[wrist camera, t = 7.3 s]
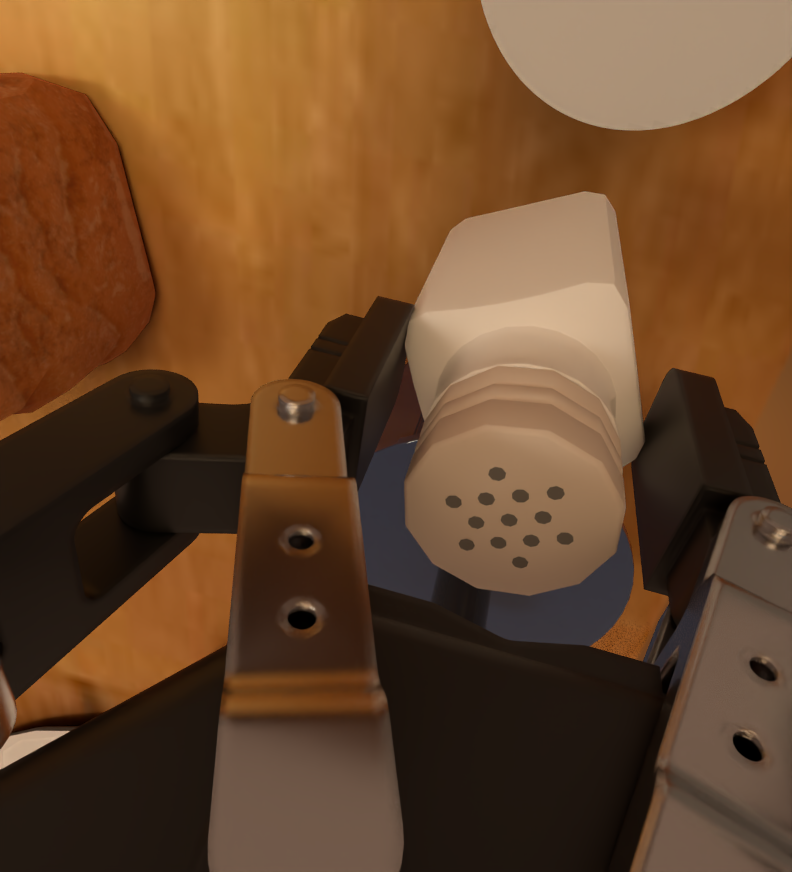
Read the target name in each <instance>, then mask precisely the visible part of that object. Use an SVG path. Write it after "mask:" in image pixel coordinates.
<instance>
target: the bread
mask: <svg viewBox="0 0 792 872" xmlns="http://www.w3.org/2000/svg"><path fill="white" fill-rule="evenodd" d="M155 294H156V293H155V289H154V284H153V280H152V276H151V272H150V268H149V264H148V260H147V256H146V252H145V248H144V245H143V241H142V237H141V233H140V229H139V225H138V221H137V217H136V214H135V210H134V206H133V202H132V198H131V195H130V191H129V187H128V183H127V179H126V176H125V172H124V168H123V164H122V161H121V157H120V153H119V149H118V145H117V143H116V142H115V140H114V138H113V137H112V135H111V134H110V132H109V130H108V129H107V127H106V126H105V124H104V123H103V121H102V119H101V118H100V116H99V115H98V113H97V111H96V110H95V108H94V107H93V105H92V103H91V102H90V100H89V99H88V97H87V96H86V95H85V94H82V93H80V92H77V91H74V90H71V89H68V88H65V87H62V86H59V85H56V84H53V83H50V82H47V81H44V80H41V79H38V78H36V77H33V76H30V75H27V74H24V73H0V421H1V420H3V419H5V418H6V417H8V416H10V415H12V414H21V413H30V412H34V411H35V410H37V409H39V408H40V407H42V406H44V405H45V404H47V403H49V402H50V401H52V400H54V399H55V398H57V397H59V396H60V395H62V394H63V393H65V392H67V391H68V390H70V389H71V388H72V387H73V386H74V385H76V384H77V383H78V382H79V381H80V380H82V379H83V378H84V377H85V376H86V375H87V374H89V373H90V372H91V371H92V370H93V369H94V368H96V367H97V366H99V365H102V364H106V363H108V362H109V361H111V360H112V359H114V358H116V357H117V356H119V355H121V354H122V353H124V352H125V351H126V350H127V349H128V348H129V347H130V345H131V344H132V343H133V342H134V340H135V339H136V338H137V336H138V335H139V334H140V333H141V331H142V330H143V329H144V328H145V326H146V325H147V324H148V323H149V321H150V317H151V312H152V308H153V303H154V299H155Z"/></svg>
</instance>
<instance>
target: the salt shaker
mask: <svg viewBox="0 0 792 872" xmlns="http://www.w3.org/2000/svg"><path fill="white" fill-rule="evenodd" d="M405 349H406V354H407V358H408V362H409V367H410V371H411V375H412V380H413V384H414V388H415V391H416V395H417V398H418V401H419V405H420V408H421V412H422V415H423V418H424V424H423V427H422V430H421V433H420V438H419V439H418V442H417V445H416V448H415V453H414V454H413V457H412V460H411V463H410V465H409V468H408V471H407V474H406V477H405V480H404V498H405V525H406V527H407V528H408V530H409V531H410V533H411V534H412V535H413V537H414V538H415V540H416V541H417V542H418V544H419V545H420V547H421V548H422V549H423V551H424V552H425V554H426V555H427V556H428V558H429V559H430V561H431V562H432V563H433V564H434V565H436V566H438V567H440V568H441V569H443V570H445V571H447V572H449V573H450V574H452V575H454V576H456V577H458V578H459V579H461V580H463V581H465V582H467V583H468V584H470V585H472V586H474V587H476V588H479V589H486V590H493V591H500V592H507V593H514V594H521V595H528V596H530V595H534V594H538V593H543V592H547V591H551V590H556V589H560V588H564V587H568V586H573V585H577V584H580V583H581V582H582V581H583V580H584V579H586V578H587V577H588V576H589V575H590V574H591V573H593V572H594V571H595V570H596V569H597V568H598V567H600V566H601V565H602V564H603V563H604V562H606V561H607V560H608V559H609V558H610V557H611V556H613V555H614V554H615V553H616V551H617V547H618V542H619V537H620V533H621V528H622V524H623V519H624V515H625V510H626V501H625V490H624V479H623V476H622V474H623V467H624V466H625V465H627V464H629V463H630V462H632V461H633V460H635V459H636V458H637V456H638V454H639V452H640V450H641V449H642V447H643V445H644V443H645V435H644V425H643V416H642V407H641V399H640V390H639V381H638V372H637V364H636V355H635V347H634V338H633V330H632V322H631V313H630V305H629V298H628V291H627V285H626V278H625V272H624V265H623V258H622V252H621V245H620V239H619V232H618V225H617V219H616V212H615V210H614V208H613V207H612V205H611V203H610V202H609V200H608V199H607V197H606V195H604V194H598V193H592V192H586V191H584V192H580V193H575V194H571V195H567V196H562V197H558V198H554V199H549V200H545V201H541V202H536V203H532V204H528V205H523V206H519V207H515V208H510V209H506V210H502V211H497V212H493V213H489V214H484V215H480V216H476V217H471V218H467V219H465V220H463V221H462V222H461V223H459V224H458V225H456V226H455V227H454V228H452V229H451V230H450V232H449V234H448V236H447V239H446V241H445V243H444V245H443V247H442V249H441V251H440V253H439V255H438V257H437V259H436V261H435V263H434V266H433V268H432V270H431V272H430V274H429V276H428V278H427V280H426V282H425V284H424V286H423V288H422V291H421V293H420V295H419V297H418V299H417V301H416V303H415V308H414V310H413V313H412V315H411V317H410V320H409V324H408V329H407V334H406V339H405Z"/></svg>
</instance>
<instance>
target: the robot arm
mask: <svg viewBox="0 0 792 872" xmlns="http://www.w3.org/2000/svg"><path fill="white" fill-rule="evenodd" d="M414 308H415V305H413V304H409V303H405V302H401V301H397V300H392V299H388V298H384V297H380V296H378V297H377V298H376V300H375V301H374V303H373V304H372V306H371V308H370V309H369V311H368V313H367V314H366V316H365V318H361V317H357V316H353V315H349V314H345V315H343V316H341V317H338V318H336V319H334V320H332V321H330V322H328V323H327V325H326V326H325V327H324V329H323V330H322V332H321V333H320V334H319V337H318V338H317V339H316V340H315V342H314V343H313V344H312V346H311V349H309V350H308V351H307V353H306V354H305V356H304V357H303V359H302V360H301V361H300V363H299V364H298V366H297V367H296V369H295V370H294V371H293V373H292V374H291V376H290V377H289V378H288V379H283V380H277V381H273V382H270V383H267V384H265V385H263V386H261V387H260V388H258V389H257V390H256V391H255V392H254V394H253V396H252V398H251V403H249V404H239V405H229V404H209V403H199V401H198V390H197V388H196V386H195V385H194V383H193V382H192V381H190V380H189V379H188V378H186V377H184V376H182V375H180V374H177V373H174V372H170V371H164V370H139V371H133V372H129V373H126V374H123V375H120V376H118V377H116V378H114V379H112V380H110V381H108V382H107V383H105V384H103V385H101V386H99V387H97V388H96V389H94V390H92V391H90V392H88V393H86V394H85V395H83V396H81V397H79V398H77V399H75V400H74V401H72V402H70V403H68V404H66V405H65V406H63V407H61V408H59V409H57V410H55V411H54V412H52V413H50V414H48V415H46V416H44V417H43V418H41V419H39V420H37V421H35V422H33V423H32V424H30V425H28V426H26V427H24V428H22V429H21V430H19V431H17V432H15V433H13V434H11V435H10V436H8V437H6V438H4V439H2V440H0V749H1V748H2V747H3V746H4V744H5V743H6V741H7V739H8V738H9V736H10V734H11V732H12V730H13V727H14V724H15V720H16V712H17V708H16V701H15V700H16V699H17V698H18V697H19V696H20V695H21V694H23V693H24V692H25V691H26V690H27V689H28V688H29V687H30V686H32V685H33V684H34V683H35V682H36V681H37V680H38V679H39V678H41V677H42V676H43V675H44V674H45V673H46V672H47V671H48V670H49V669H51V668H52V667H53V666H54V665H55V664H56V663H57V662H58V661H60V660H61V659H62V658H63V657H64V656H65V655H66V654H67V653H69V652H70V651H71V650H72V649H73V648H74V647H75V646H76V645H78V644H79V643H80V642H81V641H82V640H83V639H84V638H85V637H87V636H88V635H89V634H90V633H91V632H92V631H93V630H94V629H95V628H97V627H98V626H99V625H100V624H101V623H102V622H103V621H104V620H106V619H107V618H108V617H109V616H110V615H111V614H112V613H113V612H115V611H116V610H117V609H118V608H119V607H120V606H121V605H122V604H124V603H125V602H126V601H127V600H128V599H129V598H130V597H131V596H133V595H134V594H135V593H136V592H137V591H138V590H139V589H140V588H141V587H143V586H144V585H145V584H146V583H147V582H148V581H149V580H150V579H152V578H153V577H154V576H155V575H156V574H157V573H158V572H159V571H161V570H162V569H163V568H164V567H165V566H166V565H167V564H168V563H170V562H171V561H172V560H173V559H174V558H175V557H176V556H177V555H178V554H180V553H181V552H182V551H183V550H184V549H185V548H186V547H187V546H189V545H190V544H191V543H192V542H193V541H194V540H195V539H196V538H197V536H198V535H199V533H227V534H237V542H236V553H235V564H234V576H233V587H232V598H231V609H230V621H229V632H228V643H227V645H226V646H224V647H222V648H221V649H219V650H217V651H215V652H213V653H211V654H210V655H208V656H206V657H204V658H202V659H201V660H199V661H197V662H195V663H193V664H191V665H190V666H188V667H186V668H184V669H182V670H181V671H179V672H177V673H175V674H173V675H171V676H170V677H168V678H166V679H164V680H162V681H161V682H159V683H157V684H155V685H153V686H151V687H150V688H148V689H146V690H144V691H142V692H141V693H139V694H137V695H135V696H133V697H131V698H130V699H128V700H126V701H124V702H122V703H120V704H119V705H117V706H115V707H113V708H111V709H110V710H108V711H106V712H104V713H102V714H100V715H99V716H97V717H95V718H93V719H91V720H90V721H88V722H86V723H84V724H82V725H80V726H79V727H77V728H75V729H73V730H71V731H70V732H68V733H66V734H64V735H62V736H60V737H59V738H57V739H55V740H53V741H51V742H50V743H48V744H46V745H44V746H42V747H40V748H39V749H37V750H35V751H33V752H31V753H30V754H28V755H26V756H24V757H22V758H20V759H19V760H17V761H15V762H13V763H11V764H10V765H8V766H6V767H4V768H2V769H0V872H792V508H790V507H788V506H786V505H784V504H781V503H780V500H779V498H778V495H777V492H776V489H775V487H774V484H773V481H772V479H771V476H770V473H769V471H768V468H767V465H765V464H764V462H765V460H764V457H763V455H762V452H761V450H759V444H758V441H757V439H756V436H755V433H754V431H753V428H752V427H751V426H750V425H749V424H748V423H747V422H746V421H745V420H744V419H743V418H742V417H741V415H740V414H739V413H738V412H737V411H736V410H733V409H729V408H725V407H724V405H723V402H722V399H721V396H720V393H719V390H718V386H717V383H716V381H715V379H714V378H712V377H708V376H704V375H700V374H696V373H692V372H688V371H683V370H679V369H675V368H672V369H671V370H670V371H669V372H668V373H667V375H666V376H665V378H664V380H663V382H662V384H661V387H660V389H659V391H658V393H657V395H656V397H655V400H654V402H653V404H652V406H651V408H650V410H649V412H648V415H647V417H646V419H645V421H644V423H643V425H644V435H645V443H644V445H643V447H642V449H641V450H640V452H639V454H638V456H637V458H636V459H635V460H633V461H632V462H631V468H632V477H633V487H634V497H635V506H636V516H637V526H638V536H639V545H640V555H641V565H642V574H643V584H644V589H645V590H648V591H652V592H656V593H659V594H663V595H667V596H668V597H669V605H668V607H667V608H666V610H665V611H664V613H663V615H662V616H661V618H660V620H659V622H658V624H657V626H656V629H655V632H654V634H653V637H652V639H651V642H650V645H649V647H648V650H647V652H646V655H645V657H644V660H643V662H642V661H639V660H635V659H632V658H628V657H625V656H621V655H618V654H614V653H610V652H607V651H603V650H600V649H596V648H593V647H589V646H586V645H572V644H556V643H540V642H524V641H512V640H508V639H504V638H502V637H500V636H498V635H496V634H494V633H492V632H490V631H488V630H486V629H484V628H482V627H480V626H478V625H476V624H474V623H472V622H471V621H469V620H467V619H465V618H463V617H461V616H459V615H457V614H455V613H453V612H451V611H449V610H447V609H445V608H443V607H441V606H440V605H438V604H436V603H433V602H429V601H426V600H422V599H419V598H415V597H412V596H408V595H405V594H401V593H397V592H394V591H390V590H387V589H383V588H380V587H376V586H373V585H369V584H368V581H367V572H366V563H365V554H364V545H363V536H362V527H361V518H360V510H359V501H358V491H359V488H360V486H361V483H362V481H363V479H364V476H365V474H366V472H367V469H368V467H369V464H370V462H371V460H372V457H373V455H374V452H375V450H376V448H377V445H378V443H379V441H380V438H381V436H382V433H383V431H384V429H385V426H386V424H387V421H388V419H389V417H390V414H391V412H392V410H393V407H394V405H395V402H396V399H397V396H398V392H399V389H400V385H401V381H402V376H403V371H404V366H405V360H406V355H407V354H406V349H405V339H406V334H407V329H408V324H409V320H410V317H411V315H412V313H413V310H414ZM113 492H115V497H114V498H112V499H111V500H109V501H108V502H107V503H105V504H104V505H103V506H101V507H100V508H98V509H97V510H96V511H94V512H93V513H91V514H90V515H89V516H87V517H86V518H85V519H83V520H82V521H81V519H82V518H83V517H84V515H85V514H86V513H87V512H88V511H89V510H90V509H91V508H92V507H94V506H95V505H96V504H98V503H99V502H101V501H102V500H103V499H105V498H106V497H108V496H109V495H110V494H112V493H113Z"/></svg>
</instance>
